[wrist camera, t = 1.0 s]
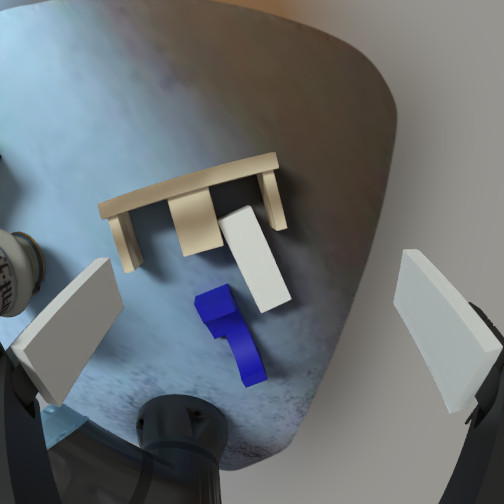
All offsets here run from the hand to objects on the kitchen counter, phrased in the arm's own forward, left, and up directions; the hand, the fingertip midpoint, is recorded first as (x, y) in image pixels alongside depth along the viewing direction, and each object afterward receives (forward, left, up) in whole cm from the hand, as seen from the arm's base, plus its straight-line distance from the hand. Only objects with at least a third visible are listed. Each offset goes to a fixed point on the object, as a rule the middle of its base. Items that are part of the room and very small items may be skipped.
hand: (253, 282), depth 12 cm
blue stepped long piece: (-14, +4, -25) cm, 28 cm away
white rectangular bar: (-5, -2, -25) cm, 25 cm away
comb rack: (+3, +4, -24) cm, 25 cm away
